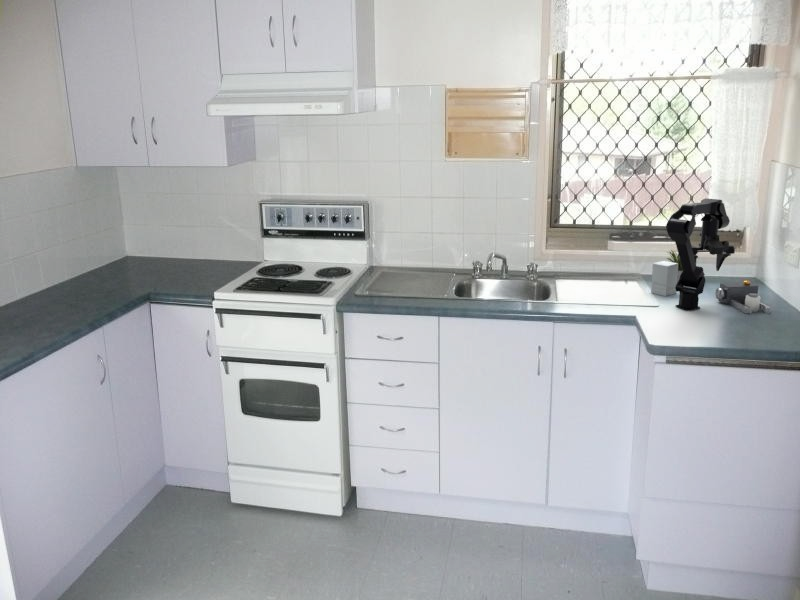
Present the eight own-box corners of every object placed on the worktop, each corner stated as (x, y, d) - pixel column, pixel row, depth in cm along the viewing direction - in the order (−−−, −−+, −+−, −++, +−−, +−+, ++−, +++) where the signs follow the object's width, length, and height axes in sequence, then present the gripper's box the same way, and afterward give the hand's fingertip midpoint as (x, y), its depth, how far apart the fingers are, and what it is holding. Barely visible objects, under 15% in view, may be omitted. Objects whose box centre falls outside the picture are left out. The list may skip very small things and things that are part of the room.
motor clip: (737, 314, 263) (739, 292, 261) (713, 300, 281) (715, 280, 279) (774, 312, 264) (777, 291, 261) (748, 298, 282) (750, 278, 279)
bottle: (741, 308, 269) (743, 293, 268) (750, 307, 271) (752, 291, 270) (752, 312, 265) (754, 296, 263) (761, 310, 267) (763, 295, 265)
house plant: (677, 289, 297) (680, 251, 292) (652, 282, 308) (654, 245, 304) (701, 285, 303) (705, 247, 298) (675, 278, 315) (678, 241, 310)
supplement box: (676, 293, 292) (679, 263, 288) (665, 296, 288) (667, 266, 284) (661, 289, 298) (663, 260, 294) (650, 292, 294) (652, 262, 290)
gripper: (695, 236, 265) (691, 277, 269) (744, 234, 266) (739, 275, 270) (682, 231, 276) (678, 270, 280) (729, 229, 276) (725, 268, 281)
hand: (705, 271), depth 277 cm, fingers open, 9 cm apart
